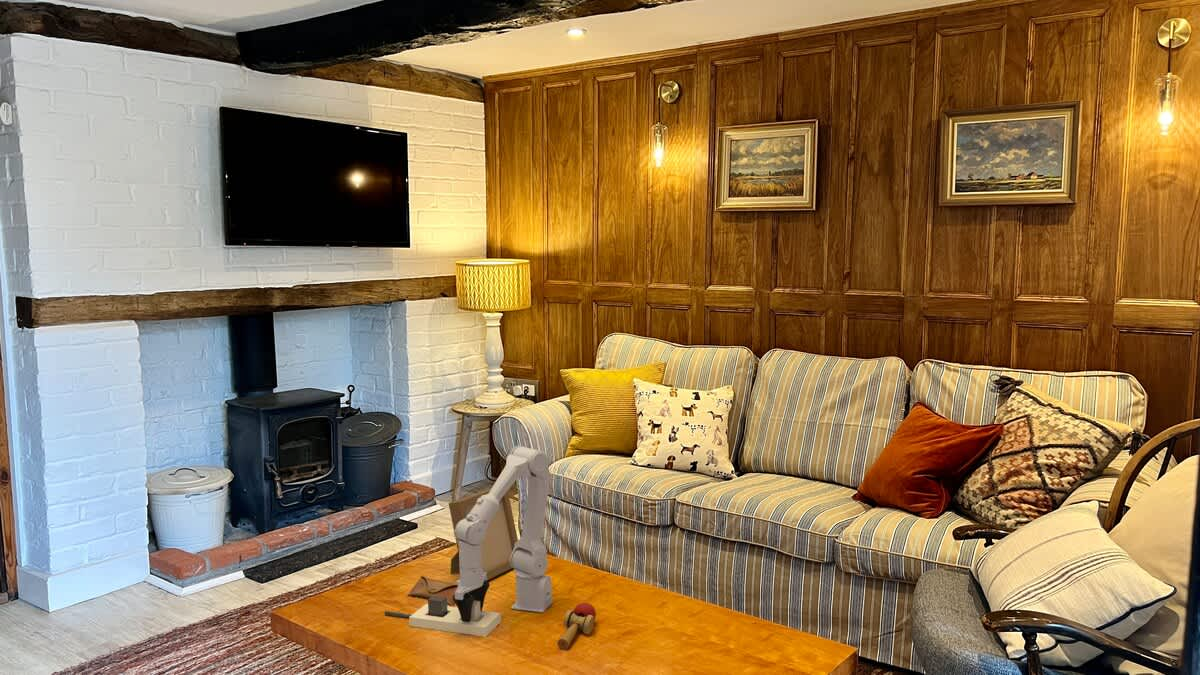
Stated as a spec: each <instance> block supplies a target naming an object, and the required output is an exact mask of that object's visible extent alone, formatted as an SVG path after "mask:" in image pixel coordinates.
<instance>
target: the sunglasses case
mask: <svg viewBox="0 0 1200 675" xmlns="http://www.w3.org/2000/svg"><path fill="white" fill-rule="evenodd" d="M458 585H459V584H456V583H453V582H448V581H445V580H440V579H439V580H438V579H433V578H429V577H426V576H423V575H422V576H420V579H419V580H418V581H417V582H416V583H415V584H414V585H413V587H412V589H411V590H410V591H409V593H407V594H406V595H407V596H406V597H409V596H411V597H410V598H416V597H417V598H418V599H421V598H422V599H423V600H425V599H426V601H428V599H429V598H431V597H432V596H433V595H435V596H443V597H447V606H449V605H450V606H449V607H456V605H455V604H456V603H455V602H454V600H453V595H454V594H455V591H456V590H457V588H458ZM468 595H469V596H471V592H468ZM422 599H421V600H422Z"/></svg>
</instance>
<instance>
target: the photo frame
mask: <svg viewBox="0 0 1200 675" xmlns="http://www.w3.org/2000/svg"><path fill="white" fill-rule="evenodd" d="M491 489H492V487H490V488H487V489H484V490H481V491H478V492H475V493H473V494H469V495H467V496H465V497H462V498H459V499H457V500H454V501H451V502H448V508H449V513H450V516H451V517H450V518H451V523H452V526H453V527H452V528H453V532H454V531H455V528H456V525H457V524H458V522H460V521H461V520H463V519H465V518H466V516H467V515H468V514H469V513H470V511H471V510H472V509H473V507H474V506H475V504H476V503H477V500H478V498H480V497H481V496H482V495H486V494H489V492H490V490H491ZM487 527H488V528H487V529H486V536H485V538H484V539H483V540H482V542H481V554H482V572H487V580H485V581H484V582H487V581H488V580H490V579H493V578H494V577H497V576H499V575H500V574H503V573H504V572H507V571H509V570H511V569H514V568H513V567H512V566H511V564H510V556H511V554H512V552H513V550H514V546H515V543H516V542H517V541H518V540H519V538H518V534H517V529H516V524H515V519H514V514H513V509H512V505H511V500H510V495H509V490H508V491H507V492H506V493H505V494H504V496H503V497H502V498H501V499H500V501H499V510H498V511H497V512H496V514H495V515H494V517H493V518H492V520H491V521H490V522H489V524H488V526H487ZM454 538H455V542H456V547H457V552H456V553H455V554H454V555H453V556H452V558H451V559H450V574H455V573H456V574H457V573H460V563H459V545H458V540H457V538H456V537H455V536H454Z"/></svg>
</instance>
